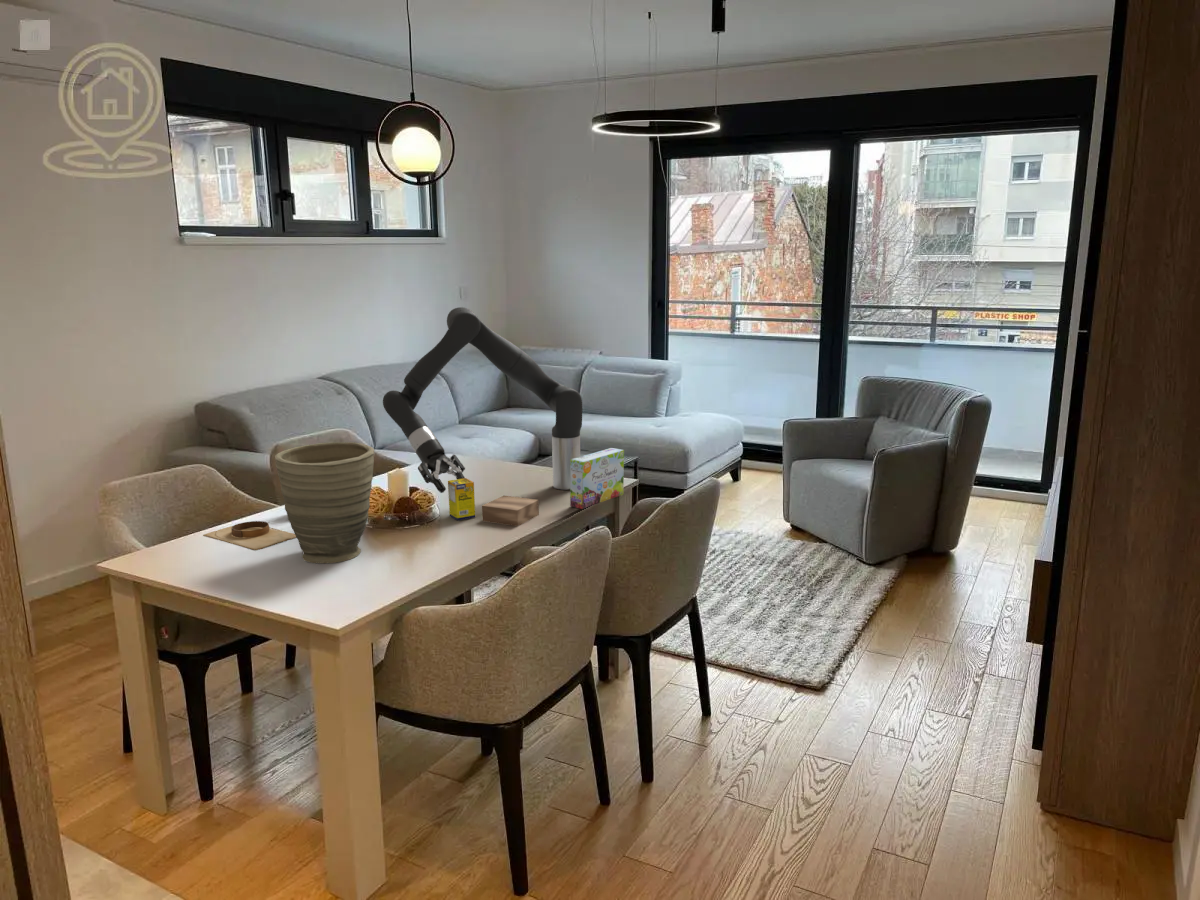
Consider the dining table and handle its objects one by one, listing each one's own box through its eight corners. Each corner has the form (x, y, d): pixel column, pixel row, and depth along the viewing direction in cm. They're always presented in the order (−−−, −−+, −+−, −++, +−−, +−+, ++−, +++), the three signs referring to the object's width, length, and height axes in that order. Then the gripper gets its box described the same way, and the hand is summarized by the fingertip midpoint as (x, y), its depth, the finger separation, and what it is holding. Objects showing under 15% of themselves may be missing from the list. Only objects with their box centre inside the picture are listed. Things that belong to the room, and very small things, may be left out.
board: (200, 537, 245) (198, 526, 244) (247, 523, 257) (246, 513, 256) (256, 553, 231) (255, 541, 231) (303, 537, 244) (302, 526, 243)
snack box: (584, 510, 265) (583, 461, 262) (569, 507, 268) (568, 459, 265) (624, 494, 282) (624, 448, 278) (610, 491, 285) (610, 446, 282)
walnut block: (504, 511, 266) (503, 495, 265) (538, 516, 261) (538, 499, 259) (482, 522, 255) (481, 505, 254) (518, 527, 250) (517, 510, 249)
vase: (269, 554, 230) (270, 440, 229) (362, 550, 241) (364, 441, 239) (278, 573, 208) (280, 446, 207) (380, 567, 219) (383, 447, 217)
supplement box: (475, 517, 258) (474, 481, 256) (456, 521, 255) (455, 484, 253) (467, 512, 263) (466, 477, 261) (449, 516, 260) (447, 480, 258)
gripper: (413, 442, 256) (442, 485, 251) (449, 433, 267) (477, 475, 263) (402, 457, 260) (430, 500, 256) (438, 448, 271) (466, 490, 267)
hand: (454, 488), depth 259 cm, fingers open, 8 cm apart
